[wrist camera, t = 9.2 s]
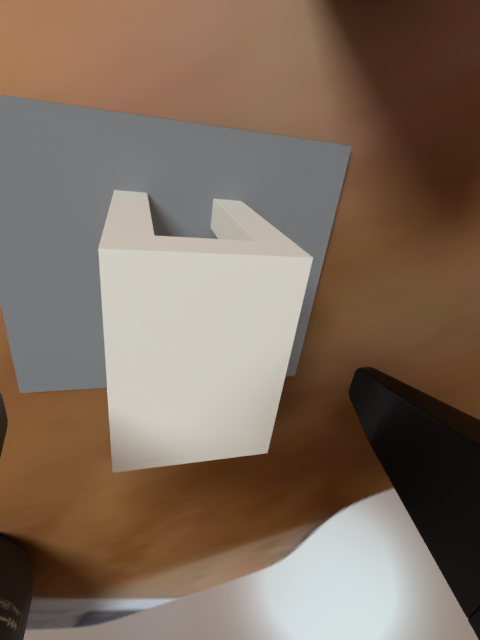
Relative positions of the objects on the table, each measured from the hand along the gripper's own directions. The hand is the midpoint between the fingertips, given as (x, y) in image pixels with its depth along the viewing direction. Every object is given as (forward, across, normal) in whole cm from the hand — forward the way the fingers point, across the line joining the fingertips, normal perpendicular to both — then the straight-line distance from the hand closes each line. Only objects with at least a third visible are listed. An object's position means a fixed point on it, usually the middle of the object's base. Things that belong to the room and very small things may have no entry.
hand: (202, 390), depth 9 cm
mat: (+8, 0, 0) cm, 8 cm away
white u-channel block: (+8, 0, 0) cm, 8 cm away
